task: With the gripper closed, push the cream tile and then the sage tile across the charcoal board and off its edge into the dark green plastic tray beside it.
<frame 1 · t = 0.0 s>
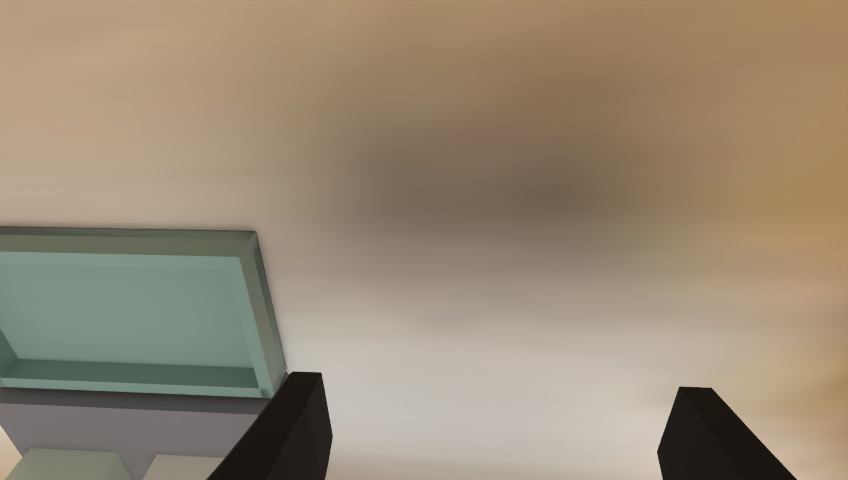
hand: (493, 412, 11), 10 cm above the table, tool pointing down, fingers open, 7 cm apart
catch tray: (125, 301, 24), on the table
charcoal board: (180, 433, 29), on the table
sage tile: (90, 477, 27), point 2 cm above the table, touching charcoal board
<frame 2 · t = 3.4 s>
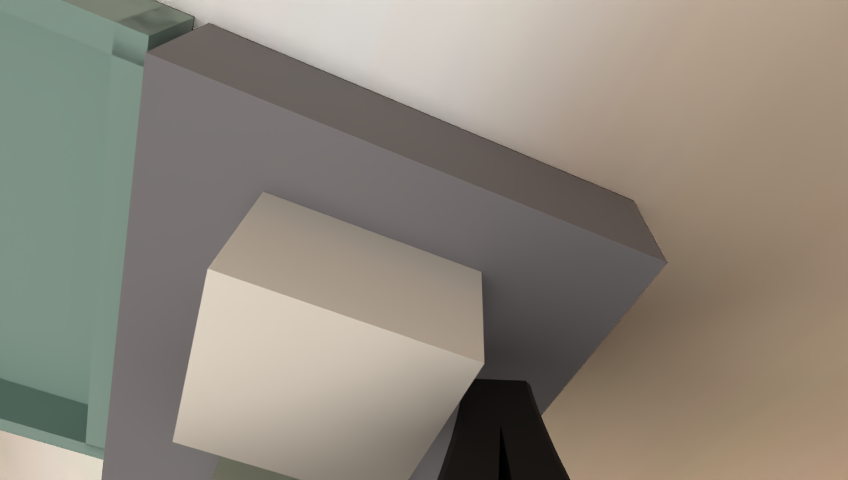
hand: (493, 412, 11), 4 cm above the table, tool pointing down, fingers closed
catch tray: (9, 212, 14), on the table
charcoal board: (343, 328, 15), on the table
cream tile: (342, 313, 11), point 3 cm above the table, touching charcoal board, gripper
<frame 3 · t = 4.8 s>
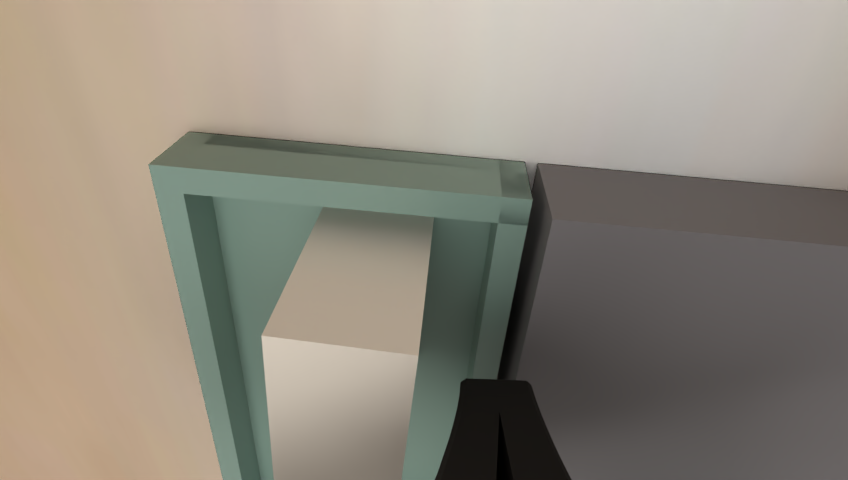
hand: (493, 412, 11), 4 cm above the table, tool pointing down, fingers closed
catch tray: (356, 359, 16), on the table
charcoal board: (667, 390, 15), on the table
cream tile: (416, 355, 11), point 3 cm above the table, tilted 90°, touching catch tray
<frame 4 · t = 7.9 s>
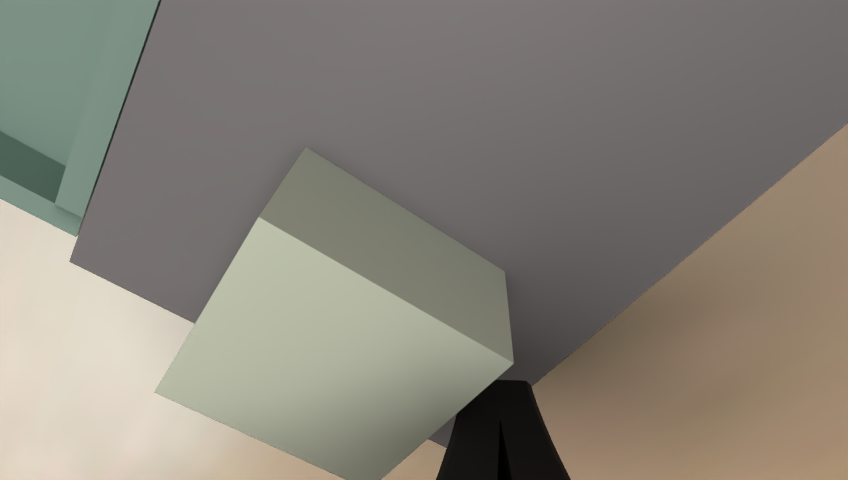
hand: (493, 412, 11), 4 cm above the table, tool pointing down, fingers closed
charcoal board: (450, 101, 11), on the table
sage tile: (351, 287, 11), point 3 cm above the table, touching charcoal board, gripper
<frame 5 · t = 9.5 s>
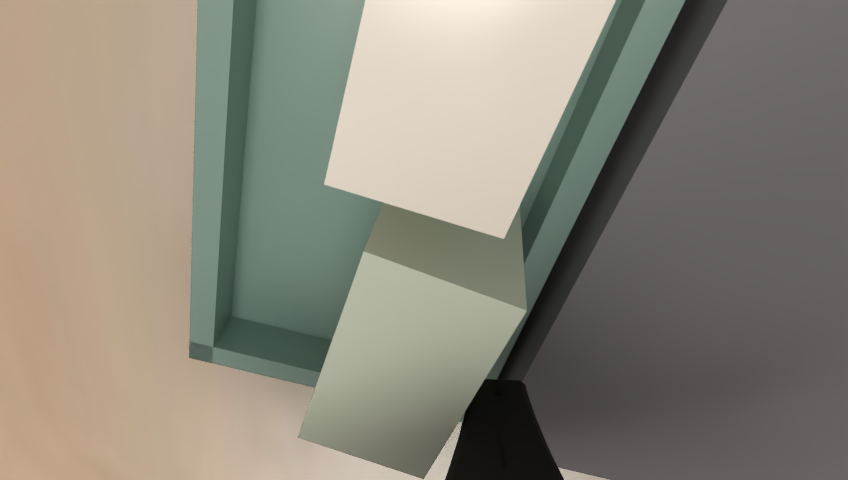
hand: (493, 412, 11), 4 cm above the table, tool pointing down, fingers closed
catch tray: (401, 134, 12), on the table
charcoal board: (773, 237, 13), on the table
sage tile: (473, 318, 11), point 3 cm above the table, tilted 93°, touching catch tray, gripper
cream tile: (552, 36, 8), point 3 cm above the table, tilted 90°, touching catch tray
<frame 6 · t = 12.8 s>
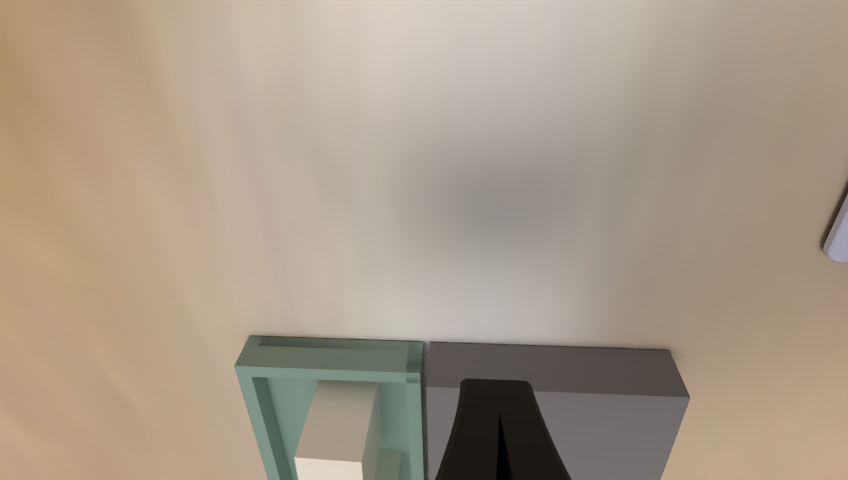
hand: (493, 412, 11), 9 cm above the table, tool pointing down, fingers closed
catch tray: (350, 438, 27), on the table
charcoal board: (533, 447, 26), on the table
cream tile: (373, 447, 22), point 3 cm above the table, tilted 90°, touching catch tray
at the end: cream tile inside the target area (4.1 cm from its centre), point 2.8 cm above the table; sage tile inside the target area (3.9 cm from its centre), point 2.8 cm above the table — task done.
